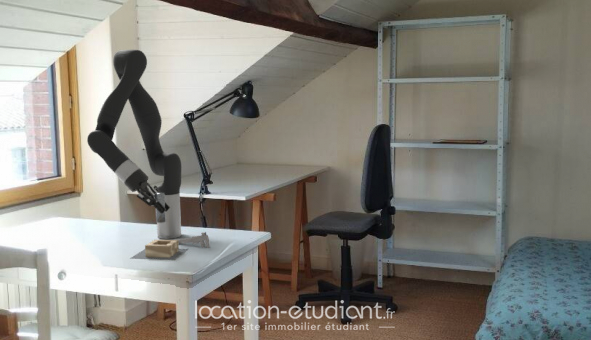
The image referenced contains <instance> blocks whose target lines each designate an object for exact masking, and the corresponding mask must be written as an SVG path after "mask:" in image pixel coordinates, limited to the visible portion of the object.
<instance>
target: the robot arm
mask: <svg viewBox="0 0 591 340" xmlns="http://www.w3.org/2000/svg"><path fill="white" fill-rule="evenodd" d="M112 63H113V68H114V71H115V73H116V75H117V78H118V79H119V82H118V84H117V85H116V86H115V88H114V89H113V90H111V92H110V93H109V95H107V97H106V98H105V100H104V102H103V104H102V106H101V108H100V111H99V113H98V115H97V119H96V127H95V130H92V131H91V132H90V133H88V136H87V142H86V143H87V144H88V146H89V148H90V149H91V151H92V152H93V153H95V154H97V155H98V156H99V157H100V158H101V159H102V160H103V161H104V162H105V164H106V165H107V166H108V168H109V169H110V170H111V171H112V172H113V173H114V174H115V175H116V177H117V178H118V179H119V180H120V182H122V183H123V184H124V185H125V186H126V187H127V188H128V189H129V190H130V191H131V192H132V193H135V192H137V194H136V197H137V198H138V199H139V200H140V201H142V202H143V203H145V204H146V205H147V206H148V207H151V206H152V207H154V208H155V210H156V209H157V210H158V211H159V212H160V213H161V214H162V213H164V212H165V221H166V222H163V223H157V222H156V224H157V225H156V227H157V228H156V230H157V238H158V239H162V240H172V239H178V238H180V237H182V221H181V219H182V218H181V195H180V194H181V193H180V191H181V190H180V189H181V185H182V160H181V158H180V156H179V155H178V154H177V153H175V152H164V150H163V148H162V145H161V142H160V141H161V140H160V134H161V130H162V115H161V113H160V110H159V107H158V105H157V103H156V102H155V100H154V98H153V97H152V96H151V94H150V93H149V92H148V91H147V90H146V89H145V88H144V86H143V84H141V81H140V80H141V78H142V76H143V74H144V73H145V71H146V69H147V66H148V65H147V64H148V59H147V56H146V54H145V53H144V52H143V51H141V50H139V49H120V50H118V51H116V52H115V53H114V55H113V57H112ZM127 102H129V103H128V104H129V105H130V108H131V110H132V113H133V116H134V120H135V122H136V125H137V127H138V130H139V133H140V136H141V139H142V142H143V145H144V148H145V152H146V155H147V156H146V157H147V161H148V164H149V167H150V170H151V172H152V173H153V174H154V175H155V176H161V177H163V182H162V183H161V184H159V185H154V186H153V185H152V184H150V183H149V182H148V180H149V176H148V175H147V174H146V173H145V172H144V171H143V170H142V169H141V168H140V167H139V166H138V164H136V163H135V162H134V161H132V159H130V158H129V156H127V155H126V154H125V153H124V152H123V151H122V150H121V149H120V148H119V147H118V146H117V144H115V142H114V141H113V139H114V135H115V130H116V127H117V125H118V123H119V121H120V118H121V116H122V113H123V112H124V108H125V106H126V104H127ZM155 193H165V207H164V206H163V205H162V204H161V203H160V202H158V200H157V199H156V198H155Z"/></svg>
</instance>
